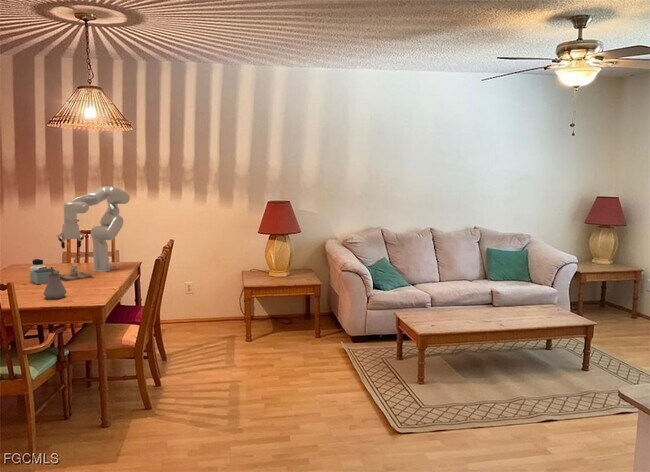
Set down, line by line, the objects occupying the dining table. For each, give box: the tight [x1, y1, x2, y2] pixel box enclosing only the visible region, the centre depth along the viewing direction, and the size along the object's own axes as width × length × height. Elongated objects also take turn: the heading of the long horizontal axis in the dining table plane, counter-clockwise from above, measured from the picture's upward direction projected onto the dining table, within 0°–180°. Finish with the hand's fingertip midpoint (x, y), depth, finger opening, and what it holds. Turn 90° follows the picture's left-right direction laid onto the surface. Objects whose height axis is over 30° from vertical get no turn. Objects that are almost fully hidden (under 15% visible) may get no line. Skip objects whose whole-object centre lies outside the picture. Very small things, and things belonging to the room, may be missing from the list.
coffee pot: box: [43, 266, 67, 300], centre depth 300 cm, size 21×12×15 cm, turn 32°
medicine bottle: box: [29, 258, 48, 272], centre depth 349 cm, size 7×7×12 cm
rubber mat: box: [60, 276, 96, 282], centre depth 349 cm, size 19×19×1 cm
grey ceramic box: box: [29, 267, 60, 286], centre depth 335 cm, size 13×13×7 cm
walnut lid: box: [60, 265, 92, 282], centre depth 348 cm, size 16×16×7 cm
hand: (71, 247), depth 346 cm, fingers open, 9 cm apart
